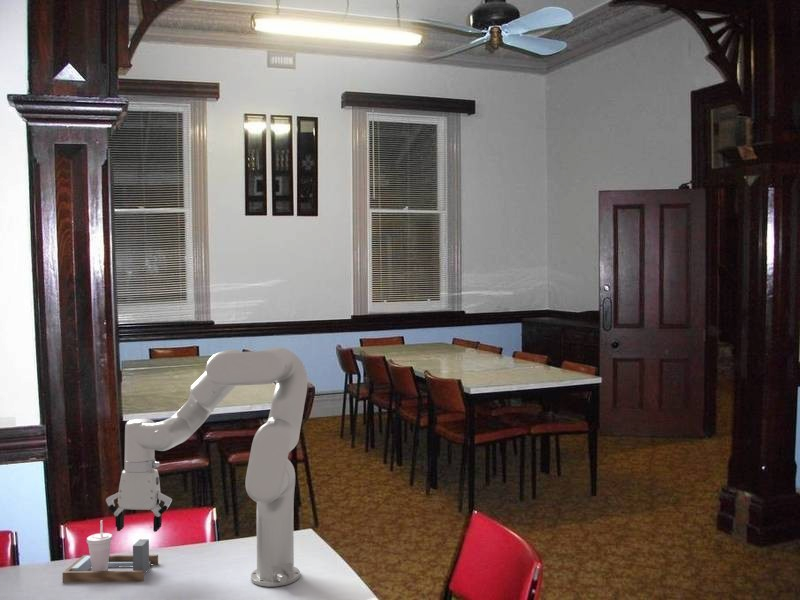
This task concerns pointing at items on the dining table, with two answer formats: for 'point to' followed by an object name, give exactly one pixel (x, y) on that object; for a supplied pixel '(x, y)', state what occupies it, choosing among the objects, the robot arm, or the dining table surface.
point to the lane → (107, 572)
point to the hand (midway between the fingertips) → (138, 529)
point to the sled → (138, 562)
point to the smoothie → (99, 549)
